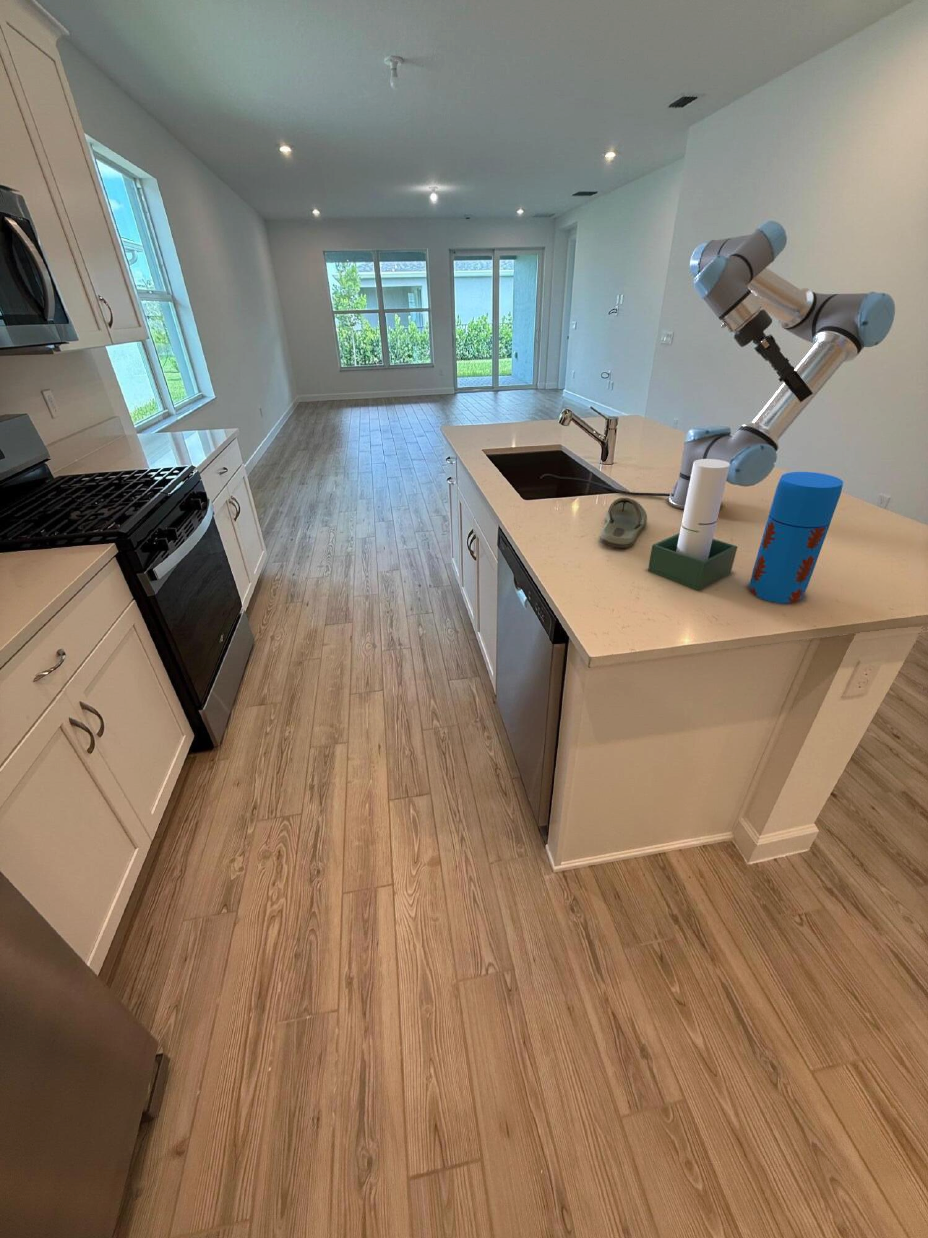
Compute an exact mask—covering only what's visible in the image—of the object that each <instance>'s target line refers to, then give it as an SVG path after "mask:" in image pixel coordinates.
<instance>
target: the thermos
mask: <svg viewBox="0 0 928 1238" xmlns="http://www.w3.org/2000/svg"><path fill="white" fill-rule="evenodd" d="M843 487H844V481H843V480H842V479H841V478H840V477H837V476H834V475H830V474H827V473H821V472H813V471H792V472H786V473H783V474H781V476H780V478H779V480H778V482H777V485H776V488H775V492H774V496H773V499H772V503H771V506H770V509H769V514H768V516H767V520H766V523H765V526H764V530H763V534H762V537H761V540H760V541H761V542H760V544H759V548H758V551H757V555H756V557H755V562H754V565H753V569H752V572H751V577H750V582H749V587H748V588H749V592H751V593H752V595H754V596H755V597H757V598H759V599H762V600H764V601H767V602H771V603H777V604H793V603H794V604H795V603H799V602H800V601H802V600H803V598H804V596H805V594H806V591H807V588H808V586H809V584H810V581H811V578H812V576H813V573H814V570H815V567H816V565H817V561H818V559H819V556H820V554H821V551H822V548H823V545H824V542H825V540H826V537H827V534H828V531H829V528H830V525H831V523H832V520H833V517H834V514H835V512H836V509H837V506H838V503H839V500H840V497H841V494H842V490H843Z"/></svg>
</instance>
